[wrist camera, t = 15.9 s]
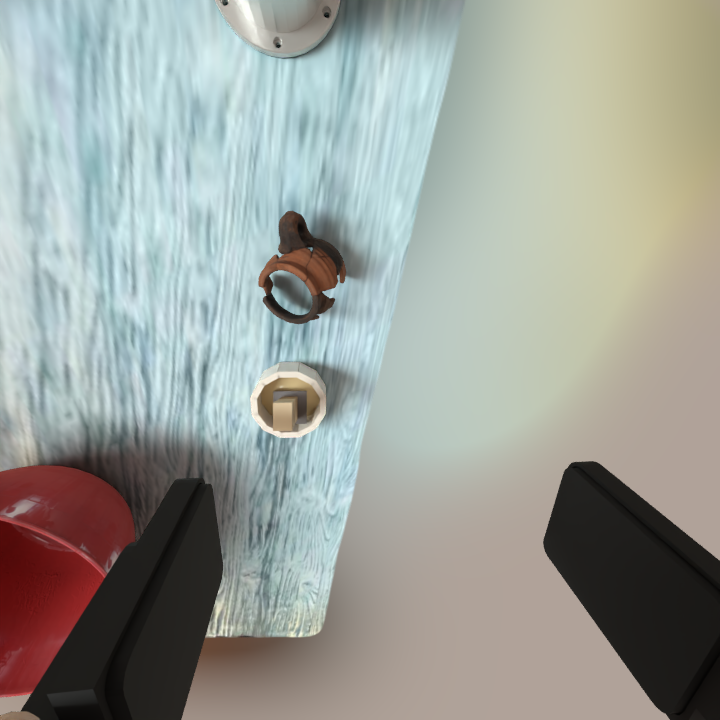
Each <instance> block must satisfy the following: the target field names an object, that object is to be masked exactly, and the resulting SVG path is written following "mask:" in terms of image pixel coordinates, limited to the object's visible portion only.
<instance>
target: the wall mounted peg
mask: <svg viewBox="0 0 720 720" xmlns="http://www.w3.org/2000/svg"><path fill="white" fill-rule="evenodd" d="M295 424H307V391H273V431H292V429H293V427H294V425H295Z"/></svg>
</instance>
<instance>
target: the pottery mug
mask: <svg viewBox="0 0 720 720" xmlns="http://www.w3.org/2000/svg"><path fill="white" fill-rule="evenodd" d="M279 236H280V245H279V248H278V250H279V252H280V253H281V254H284V255H282V256H281V257H280V258H279V257H278V255H274V256H273V257H272V258H271V259H270V261H269V262H268V263H267V264H266V266H265V268H264V270H263V271H262V272H261V274H260V276H259V287H262V288H264V290H265V293H266V295H267V296H265V297H264V298H263V302H264V304H265V305H266V306H267V308H268V309H269V310H270V311H271V312H272V313H273V314H274V315H276V316H277V317H279V318H281V319H284V320H285V321H287V322H289V323H295V324H302V323H306V322H308V321H310V320H315V319H318V318H319V316H318V315H317V314H321V313H324V312H325V311H326V310H327V309H329V308H331V307H332V306H333V304H334V302H335V299H334V298H330V299H329V297H327V296H325V295H324V294H323V293H322V291H326V290H329V289H332V288H335V287H336V285H337V283H338V279H337V275H339V273H340V283H344V281H345V276H346V268H345V264H344V261H343V258H342V256H341V255H340V253H339V251H338V250H337V249H336V248H335V247H334V246H333V245H331V244H330V243H328V242H326V241H323V240H320V239H316V238H313V236H312V235H311V234H310V233H309V231H308V229H307V225H306V222H305V220H304V218H303V216H302V215H300V214H298V213H296V212H293V211H288V212H286V213H285V215H284V216H283V217H282V218H281V219H280V222H279ZM307 247H313V250H312V252H311V251H310V250H309V249H308V248H307ZM278 270H284V271H288V272H291V273H293V274H295V275H296V276H298V277H299V278H300V279H301V280H302V281H304V282H305V284H306V285H307V287H308V288H309V290H310V292H311V295H312V297H313V305H312V308H311V310H310V312H309V313H307V314H305V315H295V314H292V313H290V312H288V311H287V310H285V309H284V308H282V307H281V306H280V305H279V304H278V303H277V301H276V300H275V298H274V297H273V295H272V293H271V290H272V287H273V282H272V280H271V278H270V277H269V275H270V274H271V273H272V272H274V271H278Z"/></svg>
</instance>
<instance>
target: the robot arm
mask: <svg viewBox="0 0 720 720" xmlns="http://www.w3.org/2000/svg"><path fill="white" fill-rule="evenodd" d="M215 2H216V4H217V7H218V8H219V10H220V12H221V14H222V15H223V17H224V19H225V21H226V22H227V23H228V25H229V26H230V27H231V29H232V30H233V31H234V32H235V34H236V35H238V36H239V37H240V38H241V39H242V40H243V41H244V42H245V43H246V44H248V45H249V46H251V47H252V48H254V49H256V50H257V51H259V52H262V53H264V54H267V55H269V56H275V57H281V58H285V57H295V56H298V55H301V54H304V53H306V52H308V51H310V50H311V49H313V48H314V47H316V46H317V45H318V44H319V43H320V42H321V41H322V40H323V39H324V38H325V37H326V35H327V34H328V32H329V31H330V29H331V28H332V26H333V23H334V21H335V19H336V16H337V14H338V10H339V6H340V2H341V0H215ZM225 3H228V5H226V6H224V4H225ZM325 15H328V16H329V18H326V17H324V16H325ZM277 45H280V46H281V47H280V48H276V46H277ZM543 544H544V549H545V552H546V554H547V556H548V557H549V559H550V560H551V561H552V563H553V564H554V566H555V567H556V568H557V570H558V571H559V573H560V574H561V575H562V577H563V578H564V579H565V581H566V582H567V584H568V585H569V587H570V588H571V589H572V591H573V592H574V594H575V595H576V596H577V598H578V599H579V600H580V602H581V603H582V605H583V606H584V608H585V609H586V610H587V612H588V613H589V614H590V616H591V617H592V619H593V620H594V621H595V623H596V624H597V626H598V627H599V628H600V630H601V631H602V632H603V634H604V635H605V637H606V638H607V640H608V641H609V642H610V644H611V645H612V647H613V648H614V649H615V651H616V652H617V653H618V655H619V656H620V658H621V659H622V661H623V662H624V663H625V665H626V666H627V668H628V669H629V670H630V672H631V673H632V675H633V676H634V677H635V679H636V680H637V681H638V683H639V684H640V686H641V687H642V688H643V690H644V691H645V693H646V694H647V696H648V697H649V698H650V700H651V701H652V702H653V703H654V705H655V706H656V707H657V708H658V709H659V710H660V711H662V712H663V713H666V715H667V716H668V718H669V719H670V720H720V561H719V560H718V559H717V558H715V557H714V556H713V555H712V554H711V553H709V552H708V551H707V550H706V549H704V548H703V547H702V546H701V545H699V544H698V543H697V542H696V541H694V540H693V539H692V538H691V537H689V536H688V535H687V534H686V533H685V532H683V531H682V530H681V529H680V528H678V527H677V526H676V525H674V524H673V523H672V522H671V521H670V520H668V519H667V518H666V517H665V516H663V515H662V514H661V513H660V512H659V511H657V510H656V509H655V508H654V507H652V506H651V505H650V504H649V503H648V502H646V501H645V500H644V499H643V498H641V497H640V496H639V495H637V494H636V493H635V492H634V491H633V490H631V489H630V488H629V487H628V486H626V485H625V484H624V483H623V482H621V481H620V480H619V479H618V478H617V477H615V476H614V475H613V474H612V473H610V472H609V471H608V470H607V469H605V468H604V467H603V466H602V465H600V464H599V463H597V462H593V461H589V462H574V463H571V464H570V465H569V467H568V468H567V469H566V470H565V471H564V474H563V477H562V480H561V484H560V487H559V490H558V494H557V497H556V500H555V504H554V508H553V511H552V514H551V517H550V521H549V524H548V527H547V530H546V534H545V537H544V541H543ZM222 573H223V561H222V553H221V546H220V539H219V532H218V525H217V517H216V510H215V503H214V496H213V489H212V485H211V484H205V482H204V480H203V478H187V479H177V480H175V481H174V483H173V484H172V486H171V487H170V489H169V491H168V492H167V494H166V496H165V498H164V499H163V501H162V503H161V504H160V506H159V508H158V509H157V511H156V513H155V514H154V516H153V518H152V519H151V521H150V523H149V524H148V526H147V528H146V529H145V531H144V533H143V534H142V536H141V538H140V539H139V541H138V542H131V543H129V544H128V545H127V546H126V547H125V548H124V549H123V551H122V552H121V553H120V555H119V556H118V558H117V559H116V561H115V563H114V564H113V566H112V567H111V569H110V570H109V572H108V574H107V575H106V577H105V578H104V580H103V582H102V583H101V585H100V586H99V588H98V589H97V591H96V593H95V594H94V596H93V597H92V599H91V601H90V602H89V604H88V605H87V607H86V608H85V610H84V612H83V613H82V615H81V616H80V618H79V620H78V621H77V623H76V624H75V626H74V627H73V629H72V631H71V632H70V634H69V635H68V637H67V638H66V640H65V642H64V643H63V645H62V646H61V648H60V650H59V651H58V653H57V654H56V656H55V657H54V659H53V661H52V662H51V664H50V665H49V667H48V669H47V670H46V672H45V673H44V675H43V676H42V678H41V680H40V681H39V683H38V684H37V686H36V688H35V689H34V691H33V692H32V694H31V695H30V697H29V699H28V701H27V702H26V704H25V705H24V706H23V708H22V710H21V711H20V712H9V713H6V714H3V715H0V720H181V718H182V715H183V711H184V708H185V705H186V701H187V697H188V694H189V691H190V687H191V684H192V680H193V676H194V673H195V669H196V666H197V663H198V659H199V656H200V652H201V649H202V645H203V642H204V639H205V635H206V632H207V628H208V625H209V621H210V618H211V614H212V611H213V607H214V604H215V600H216V597H217V593H218V590H219V586H220V583H221V579H222Z"/></svg>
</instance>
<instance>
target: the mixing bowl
mask: <svg viewBox="0 0 720 720" xmlns="http://www.w3.org/2000/svg"><path fill="white" fill-rule="evenodd" d="M131 542H135V528H134V521H133V517H132V514H131V511H130V508H129V507H128V505H127V503H126V501H125V500H124V498H123V497H122V496H121V495H120V494H119V492H118V491H117V490H116V489H115V488H113V487H112V486H111V485H110V484H108V483H107V482H105V481H104V480H102V479H101V478H99V477H97V476H94V475H93V474H90V473H88V472H84V471H82V470H79V469H75V468H72V467H71V468H70V467H64V466H51V465H38V466H29V467H22V468H16V469H11V470H6V471H2V472H0V697H11V696H19V695H26V694H32V692H33V691H34V689H35V688H36V686H37V684H38V683H39V681H40V680H41V678H42V676H43V675H44V673H45V672H46V670H47V669H48V667H49V665H50V664H51V662H52V661H53V659H54V657H55V656H56V654H57V653H58V651H59V650H60V648H61V646H62V645H63V643H64V642H65V640H66V638H67V637H68V635H69V634H70V632H71V631H72V629H73V627H74V626H75V624H76V623H77V621H78V620H79V618H80V616H81V615H82V613H83V612H84V610H85V608H86V607H87V605H88V604H89V602H90V601H91V599H92V597H93V596H94V594H95V593H96V591H97V589H98V588H99V586H100V585H101V583H102V582H103V580H104V578H105V577H106V575H107V574H108V572H109V570H110V569H111V567H112V566H113V564H114V563H115V561H116V559H117V558H118V556H119V555H120V553H121V552H122V551H123V549H124V548H125V547H126V546H127V545H128V544H129V543H131Z"/></svg>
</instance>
